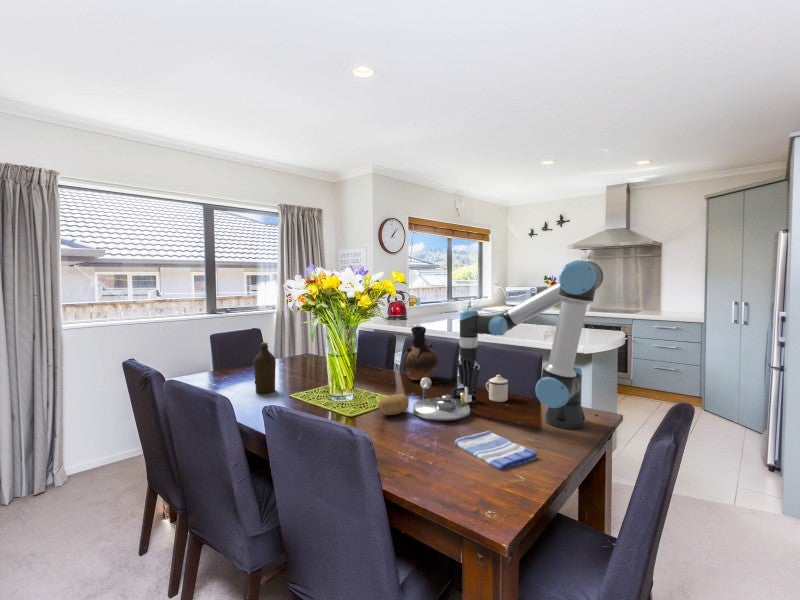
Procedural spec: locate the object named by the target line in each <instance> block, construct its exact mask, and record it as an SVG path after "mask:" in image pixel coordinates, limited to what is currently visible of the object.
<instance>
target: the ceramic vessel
mask: <svg viewBox="0 0 800 600" xmlns="http://www.w3.org/2000/svg"><path fill="white" fill-rule="evenodd" d="M410 330H411V333H412V337H413V340H412V344H413V345H412V346H408V347H407V348H406V352H405V353H404V355H403V357H402V361H401V364H402V365H401V366H402V369H403V371H404V373H405V375H406V376H407V377H408V378H409V379H411V380H413V381H421V379H422V378H424V377H427V378H429V379H431V377H432V376H433V374H435V372H436V370H437V368H438V365H439V360H438V355H437V354H436V351H435V350H434V348H433V344H432V343H428V344H426V341H427V339H426V337H425V336H426V331H427V328H426V327H425V326H421V325H419V326H417V325H416V326H413V327H412V328H411V329H410Z"/></svg>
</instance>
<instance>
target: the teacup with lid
mask: <svg viewBox="0 0 800 600" xmlns="http://www.w3.org/2000/svg"><path fill="white" fill-rule="evenodd" d="M485 388H486V390H487V392H488V399H489V400H490V401H492V402H498V403H502V402H503V403H504V402H506V401H508V398H509V397H508V396H509V395H508V393H509V392H508V391H509V380H508V379H506V378H504V377H502V375H501V374H496V375H495V376H494V377H492V378H489V379H488V381H487V382H486V383H485Z"/></svg>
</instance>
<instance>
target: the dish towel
mask: <svg viewBox="0 0 800 600" xmlns="http://www.w3.org/2000/svg"><path fill="white" fill-rule="evenodd" d="M454 445H455V446H456V447H458V448H459V449H461V450H463V451H465V452H466V453H468V454H469V455H471V456H473V457H475V458H477V459H479V460H480V461H482V462H484V463H485V464H488V465H489V466H492V467H493V468H495V469H497V470H500V471H502V470H506V469H510V468H512V467H516V466H519V465H523V464H525V463H528V462H532V461H536V460H538V458H537V457H536V456H538V453H537V452H536V451H535V450H533V449H530V448H528V447H525V446H523V445H521V444H518V443H514V442H512V441H510V440H509V439H508V438H506V437H503V436H500V435H498V434H496V433H494V432H493V431H492V430H487V431H483V432H480V433H474V434H472V435H468V436H467V435H466V436H463V437H459V438H456V439H455V441H454Z"/></svg>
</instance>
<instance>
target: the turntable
mask: <svg viewBox="0 0 800 600" xmlns="http://www.w3.org/2000/svg"><path fill="white" fill-rule="evenodd" d="M441 398H442V397H432V398H427V399H423V398H422V399H420V400H418V401H417V400H416V402H414V403H413V405H412V410H413V411H412V412H413V414H414V415H416V416H417V417H419V418H423V419H425V420H430V421H438V422H439V421H442V422H443V421H448V422H449V421H456V420H461V419H464V418H466V417H468V416H469V415H470V414H471V411H470V409H471V408H470V407H471V406H470V404H467V403H466V402H465V393H464V392H462V393H461V401H460V400H456V399H454V400H456V409H455V410H452V411H442V410H439V409H437V400H438V399H441Z"/></svg>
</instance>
